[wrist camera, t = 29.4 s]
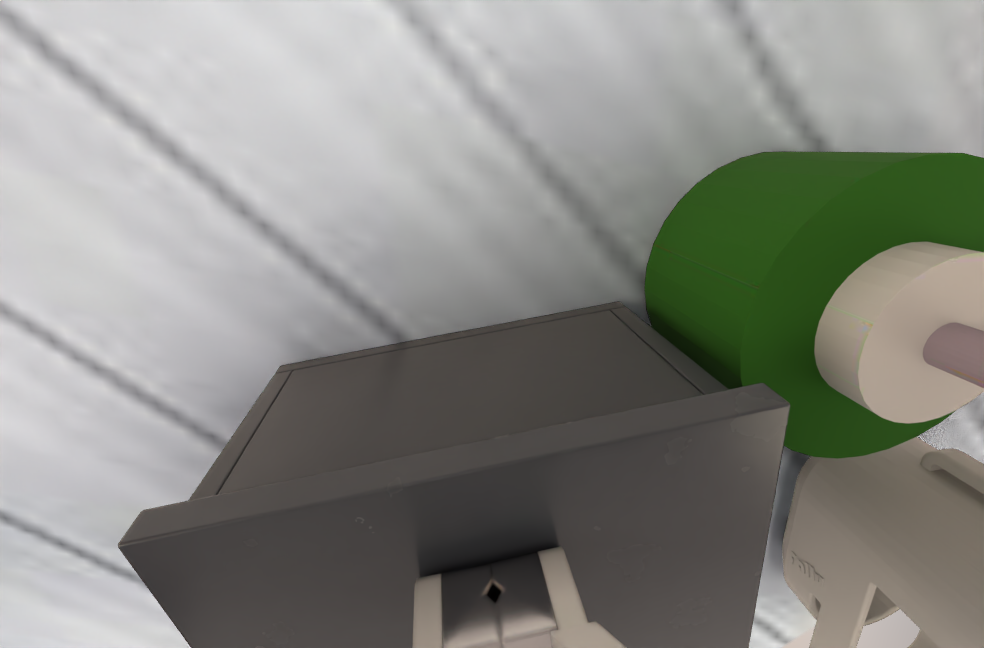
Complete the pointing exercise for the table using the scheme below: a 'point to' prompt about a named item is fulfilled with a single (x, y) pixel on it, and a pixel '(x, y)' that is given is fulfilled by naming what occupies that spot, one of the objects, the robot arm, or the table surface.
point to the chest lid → (489, 531)
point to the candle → (832, 289)
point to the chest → (452, 394)
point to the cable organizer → (890, 544)
